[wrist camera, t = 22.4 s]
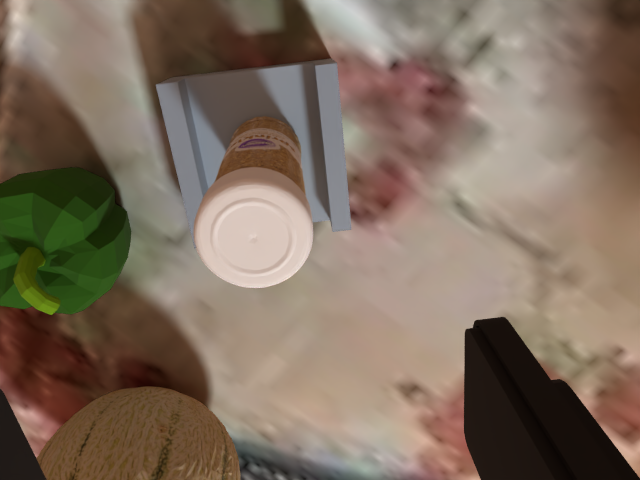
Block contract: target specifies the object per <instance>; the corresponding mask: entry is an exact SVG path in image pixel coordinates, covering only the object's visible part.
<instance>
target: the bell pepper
mask: <svg viewBox="0 0 640 480" xmlns="http://www.w3.org/2000/svg"><path fill="white" fill-rule="evenodd" d="M130 242H131V228H130V224H129V219H128V215H127V211H126V210H125V209H123V208H122V207H120V206H118V205H116V204H115V190H114V189H113V188H112V187H111V186H110V185H109V184H108V183H107V181H106V180H105V179H104V178H102V177H100V176H97V175H95V174H93V173H91V172H88V171H86V170H84V169H82V168H75V167H70V168H61V169H53V170H45V171H37V172H30V173H24V174H19V175H17V176H15V177H13V178H11V179H9V180H7V181H5V182H3V183H1V184H0V306H6V307H13V308H20V309H26V308H29V307H32V306H33V307H34V308H35V309H37V310H39V311H42V312H44V313H47V314H49V315H52V314H53V313H63V314H74V313H77V312H80V311H83V310H85V309H86V308H87V307H88V306H90V305H91V304H92V303H93V302H95V301H96V300H97V299H99V298H100V297H101V296H102V295H104V294H105V293H106V292H107V291H109V290H110V289H111V287H112V286H113V284H114V283H115V281H116V279H117V278H118V276H119V275H120V273H121V271H122V268H123V266H124V264H125V262H126V260H127V258H128V253H129V247H130Z"/></svg>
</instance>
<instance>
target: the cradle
mask: <svg viewBox="0 0 640 480" xmlns="http://www.w3.org/2000/svg"><path fill="white" fill-rule="evenodd" d="M156 88H157V92H158V97H159V101H160V105H161V109H162V113H163V118H164V122H165V126H166V130H167V134H168V139H169V143H170V147H171V151H172V155H173V160H174V164H175V168H176V172H177V176H178V181H179V185H180V189H181V193H182V197H183V201H184V206H185V210H186V214H187V218H188V222H189V227H190V231H191V235H192V239H193V243H194V248H196V245H195V242H194V221H195V217H196V214H197V211H198V209H199V206H200V204H201V202H202V199H203V197H204V195H205V194H206V192H207V190H208V189H209V188H210V186H211V185H212V184H213V183H214V182H215V180H216V177H217V174H218V171H219V167H220V164H221V162H222V160H223V158H224V155H225V153H226V151H227V149H228V147H229V145H230V140H231V138H232V136H233V134H234V132H235V131H236V129H237V128H238V127H239V126H241V125H242V124H243V123H244V122H246V121H248V120H250V119H253V118H255V117H263V116H266V117H272V118H274V119H278V120H280V121H282V122H284V123H286V124H287V125H288V126H290V128H291V129H292V130H293V131H294V133H295V134H296V135H297V137H298V140H299V142H300V145H301V164H302V171H303V179H304V185H305V192H306V198H307V200H308V202H309V205H310V209H311V214H312V221H313V222H319V221H327V220H330V221H331V226H332V231H333V232H335V231H344V230H351V219H350V208H349V196H348V185H347V173H346V162H345V151H344V139H343V128H342V116H341V105H340V93H339V82H338V70H337V63H336V62H335V61H334V60H333V59H322V60H314V61H305V62H297V63H288V64H280V65H271V66H263V67H254V68H246V69H238V70H229V71H221V72H212V73H204V74H195V75H187V76H178V77H172V78H169V79H167V80H165V81H163V82H160V83H158V84H156Z"/></svg>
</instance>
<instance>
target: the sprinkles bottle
mask: <svg viewBox="0 0 640 480" xmlns="http://www.w3.org/2000/svg"><path fill="white" fill-rule="evenodd" d="M194 242H195V245H196V249H197V251H198V254H199V256H200V258H201V259H202V261H203V262H204V264H205V265H206V266H207V267H208V268H209V269H210V270H211V271H212V272H213V273H214V274H215V275H217V276H218V277H219V278H221V279H223V280H225V281H227V282H229V283H232V284H234V285H237V286H241V287H248V288H262V287H268V286H272V285H275V284H278V283H280V282H282V281H284V280H286V279H288V278H289V277H291V276H292V275H293V274H295V273H296V272H297V271H298V270H299V269H300V268H301V266H302V265H303V264H304V262H305V261H306V259H307V257H308V255H309V253H310V250H311V247H312V242H313V221H312V214H311V209H310V205H309V202H308V200H307V198H306V192H305V185H304V179H303V171H302V164H301V145H300V142H299V140H298V137H297V135H296V134H295V133H294V131H293V130H292V129H291V128H290V126H288V125H287V124H286V123H284V122H282V121H280V120H278V119H274V118H272V117H266V116H263V117H255V118H253V119H250V120H248V121H246V122H244V123H243V124H242V125H241V126H239V127H238V128H237V129H236V131H235V132H234V134H233V136H232V138H231V140H230V145H229V147H228V149H227V151H226V153H225V155H224V158H223V160H222V162H221V164H220V167H219V171H218V174H217V177H216V180H215V182H214V183H213V184H212V185H211V186H210V188H209V189H208V190H207V192H206V194H205V195H204V197H203V199H202V202H201V204H200V206H199V209H198V211H197V214H196V217H195V221H194Z"/></svg>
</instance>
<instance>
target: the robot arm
mask: <svg viewBox="0 0 640 480" xmlns="http://www.w3.org/2000/svg"><path fill="white" fill-rule="evenodd" d="M464 433H465V439H466V443H467V446H468V449H469V452H470V454H471V456H472V459H473V461H474V464H475V466H476V469H477V471H478V474H479V476H480V478H481V480H640V478H639V477H638V475H637V474H636V473H635V471H634V470H633V469H632V468H631V466H630V465H629V464H628V462H627V461H626V460H625V458H624V457H623V456H622V454H621V453H620V452H619V450H618V449H617V448H616V447H615V445H614V444H613V443H612V441H611V440H610V439H609V437H608V436H607V435H606V433H605V432H604V431H603V429H602V428H601V427H600V426H599V424H598V423H597V422H596V420H595V419H594V418H593V416H592V415H591V414H590V412H589V411H588V410H587V408H586V407H585V406H584V405H583V403H582V402H581V401H580V399H579V398H578V397H577V395H576V394H575V393H574V391H573V390H572V389H571V388H570V386H569V385H568V384H567V383H566V382H565V381H562V380H560V379H557V380H551V379H550V378H549V377H548V375H547V374H546V372H545V371H544V370H543V368H542V367H541V365H540V364H539V363H538V361H537V360H536V359H535V357H534V356H533V354H532V353H531V352H530V350H529V349H528V347H527V346H526V345H525V343H524V342H523V341H522V339H521V338H520V336H519V335H518V334H517V332H516V331H515V329H514V328H513V327H512V325H511V324H510V323H509V321H508V320H507V319H506V318H505V317H498V318H490V319H482V320H476V321H475V322H474V325H473V328H470V329H466V331H465V374H464ZM0 480H47V479H46V477H45V475H44V473H43V471H42V469H41V467H40V465H39V463H38V461H37V459H36V457H35V455H34V453H33V451H32V449H31V447H30V445H29V443H28V441H27V439H26V437H25V435H24V433H23V431H22V429H21V427H20V425H19V423H18V421H17V419H16V417H15V415H14V413H13V411H12V409H11V407H10V405H9V403H8V401H7V399H6V397H5V394H4V393H3V391H2V390H1V389H0Z"/></svg>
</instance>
